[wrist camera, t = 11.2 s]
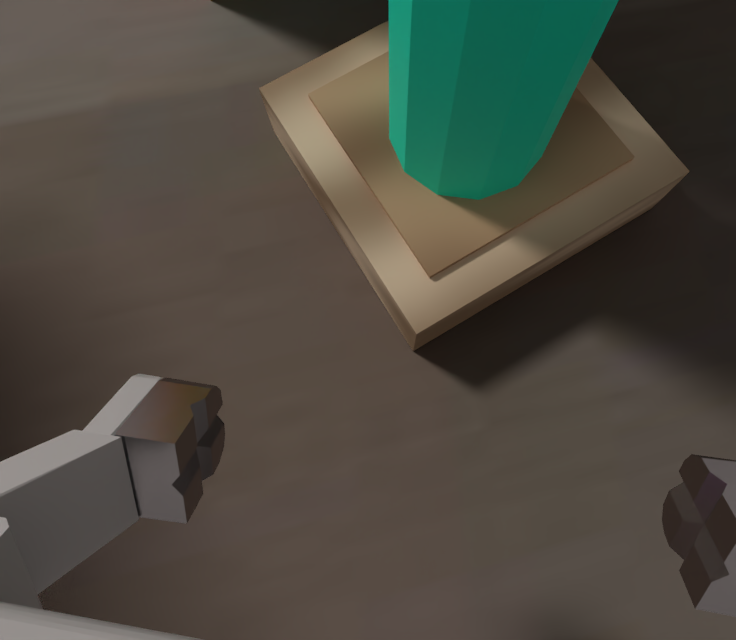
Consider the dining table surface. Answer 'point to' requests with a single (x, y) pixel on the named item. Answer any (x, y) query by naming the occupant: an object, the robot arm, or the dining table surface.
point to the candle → (483, 85)
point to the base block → (453, 214)
